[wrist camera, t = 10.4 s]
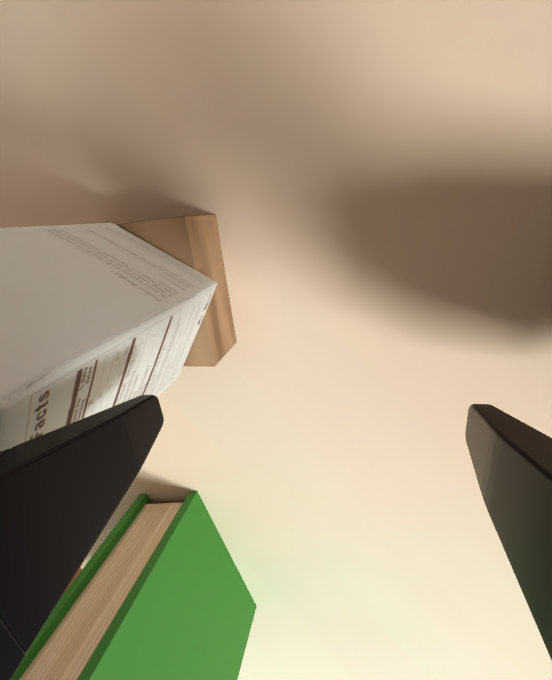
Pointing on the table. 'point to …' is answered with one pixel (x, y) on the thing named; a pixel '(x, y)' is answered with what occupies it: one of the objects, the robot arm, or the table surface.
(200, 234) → the stand block
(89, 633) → the hardback book
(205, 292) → the supplement box
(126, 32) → the table surface
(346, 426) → the table surface
